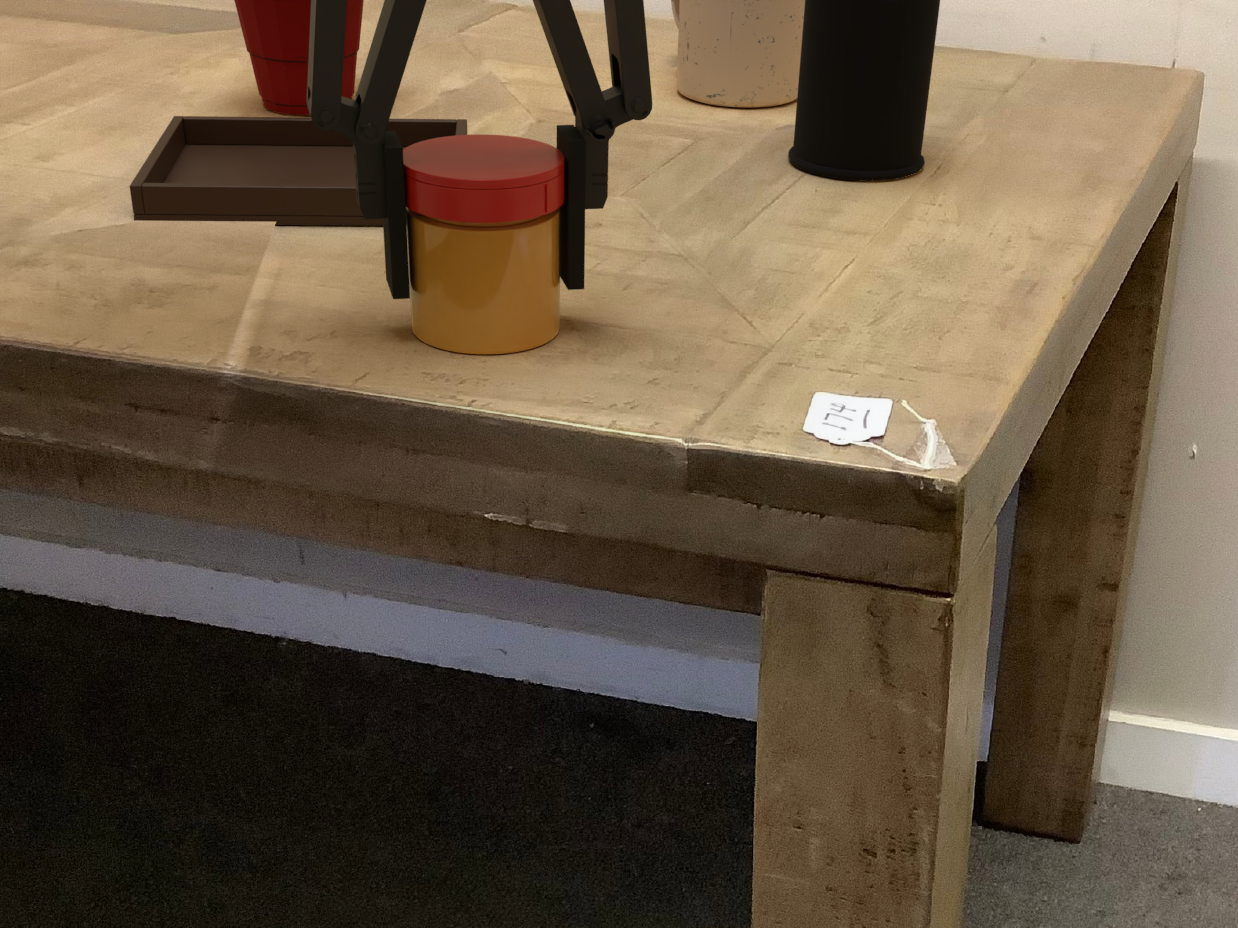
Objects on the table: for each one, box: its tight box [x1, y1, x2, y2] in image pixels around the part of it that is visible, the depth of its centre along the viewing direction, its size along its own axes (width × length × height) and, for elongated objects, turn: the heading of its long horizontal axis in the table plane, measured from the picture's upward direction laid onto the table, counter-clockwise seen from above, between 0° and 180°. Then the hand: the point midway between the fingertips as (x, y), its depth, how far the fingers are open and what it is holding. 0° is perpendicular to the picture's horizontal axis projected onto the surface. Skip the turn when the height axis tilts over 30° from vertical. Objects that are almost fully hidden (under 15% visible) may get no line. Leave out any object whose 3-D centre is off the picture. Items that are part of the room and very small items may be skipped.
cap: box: [403, 133, 565, 223], centre depth 73 cm, size 7×7×2 cm
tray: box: [129, 115, 468, 227], centre depth 94 cm, size 17×14×2 cm
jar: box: [406, 207, 561, 355], centre depth 75 cm, size 7×7×7 cm
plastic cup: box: [233, 0, 364, 116], centre depth 106 cm, size 11×11×12 cm
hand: (484, 283), depth 76 cm, fingers closed on cap, 7 cm apart
